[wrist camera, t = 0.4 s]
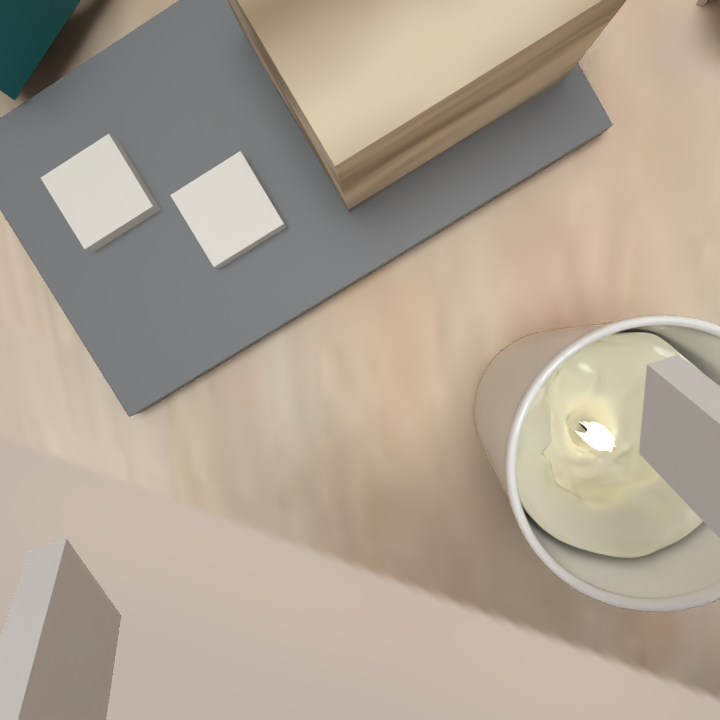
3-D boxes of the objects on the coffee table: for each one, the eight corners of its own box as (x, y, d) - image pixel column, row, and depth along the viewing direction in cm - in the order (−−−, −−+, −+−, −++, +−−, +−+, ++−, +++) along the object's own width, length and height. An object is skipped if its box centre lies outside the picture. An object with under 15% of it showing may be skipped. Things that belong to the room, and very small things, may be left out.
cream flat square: (287, 226, 29) (283, 223, 28) (219, 268, 29) (213, 267, 28) (245, 156, 29) (240, 150, 28) (177, 199, 29) (170, 195, 28)
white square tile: (160, 209, 29) (152, 206, 28) (94, 251, 30) (84, 249, 29) (118, 139, 29) (108, 133, 28) (51, 182, 29) (40, 177, 28)
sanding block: (563, 81, 28) (648, -29, 19) (349, 212, 29) (334, 166, 20) (458, -105, 28) (495, -306, 19) (243, 33, 29) (180, -96, 20)
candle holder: (461, 313, 31) (513, 311, 19) (652, 317, 30) (829, 318, 18) (455, 497, 31) (501, 608, 20) (641, 503, 31) (804, 620, 19)
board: (601, 134, 30) (612, 124, 28) (141, 412, 32) (129, 417, 30) (441, -149, 29) (444, -175, 28) (-20, 152, 31) (-40, 144, 29)
